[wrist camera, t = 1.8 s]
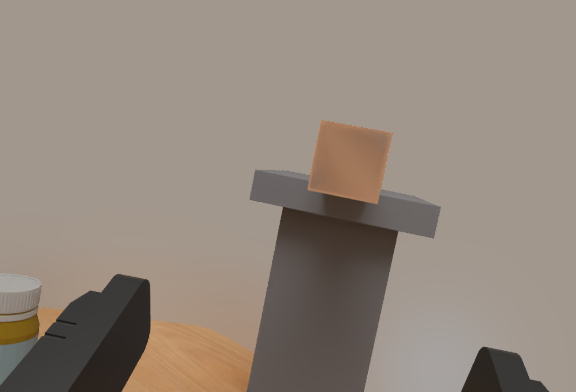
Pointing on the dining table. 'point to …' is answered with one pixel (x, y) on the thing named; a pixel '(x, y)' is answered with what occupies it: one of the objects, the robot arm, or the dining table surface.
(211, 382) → the dining table surface
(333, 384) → the pedestal
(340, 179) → the bar
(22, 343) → the bottle
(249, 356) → the dining table surface
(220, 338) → the dining table surface
